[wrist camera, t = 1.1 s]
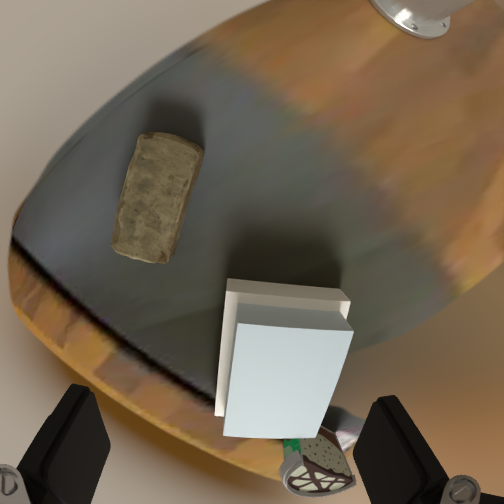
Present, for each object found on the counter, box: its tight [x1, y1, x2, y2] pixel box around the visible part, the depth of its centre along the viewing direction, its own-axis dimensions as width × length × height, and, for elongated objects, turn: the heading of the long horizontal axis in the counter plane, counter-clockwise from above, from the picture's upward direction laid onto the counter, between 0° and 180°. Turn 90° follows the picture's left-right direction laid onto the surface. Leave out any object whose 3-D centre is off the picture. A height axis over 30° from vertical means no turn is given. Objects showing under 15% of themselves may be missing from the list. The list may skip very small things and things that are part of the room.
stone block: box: [111, 132, 205, 264], centre depth 26 cm, size 6×12×5 cm, turn 163°
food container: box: [279, 425, 356, 497], centre depth 32 cm, size 12×6×10 cm, turn 46°
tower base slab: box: [215, 278, 351, 416], centre depth 32 cm, size 16×12×4 cm
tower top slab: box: [223, 303, 354, 438], centre depth 28 cm, size 14×10×4 cm
